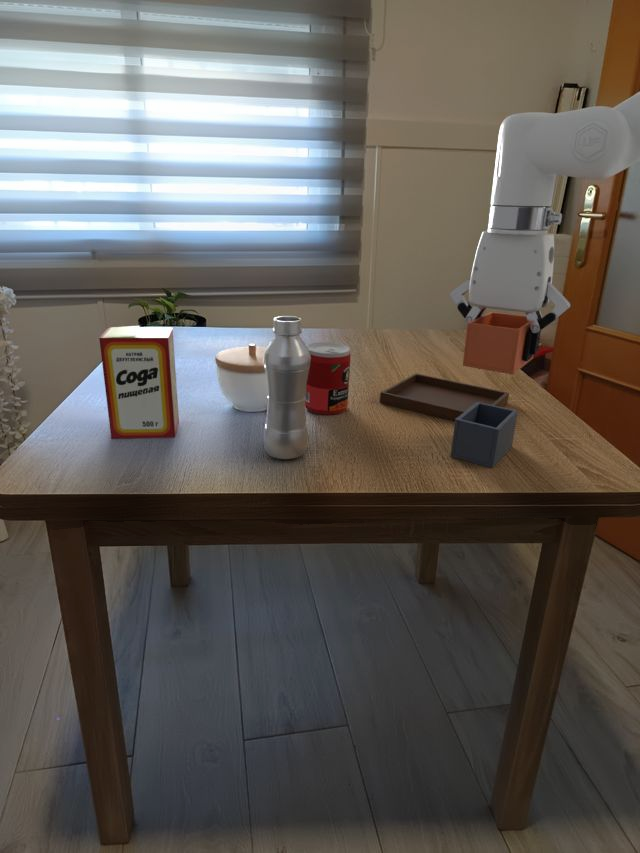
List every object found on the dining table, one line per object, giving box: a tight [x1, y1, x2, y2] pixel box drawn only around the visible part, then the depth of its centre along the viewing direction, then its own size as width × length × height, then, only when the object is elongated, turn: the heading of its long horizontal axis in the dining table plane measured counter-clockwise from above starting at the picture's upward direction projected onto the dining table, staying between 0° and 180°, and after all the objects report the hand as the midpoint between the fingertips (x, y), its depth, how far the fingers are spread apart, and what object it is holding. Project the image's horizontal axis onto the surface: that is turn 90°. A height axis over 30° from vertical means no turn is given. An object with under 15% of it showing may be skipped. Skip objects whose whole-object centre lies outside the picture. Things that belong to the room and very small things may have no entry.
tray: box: [379, 372, 510, 422], centre depth 106 cm, size 19×15×2 cm
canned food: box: [305, 341, 352, 416], centre depth 100 cm, size 8×8×11 cm
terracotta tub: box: [462, 311, 534, 375], centre depth 80 cm, size 7×10×6 cm
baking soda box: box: [98, 325, 180, 440], centre depth 88 cm, size 10×6×16 cm
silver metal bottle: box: [262, 315, 311, 460], centre depth 80 cm, size 6×7×20 cm
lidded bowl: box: [214, 343, 268, 413], centre depth 100 cm, size 13×13×11 cm
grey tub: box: [450, 402, 519, 469], centre depth 86 cm, size 6×9×6 cm
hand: (499, 353), depth 81 cm, fingers closed on terracotta tub, 7 cm apart
